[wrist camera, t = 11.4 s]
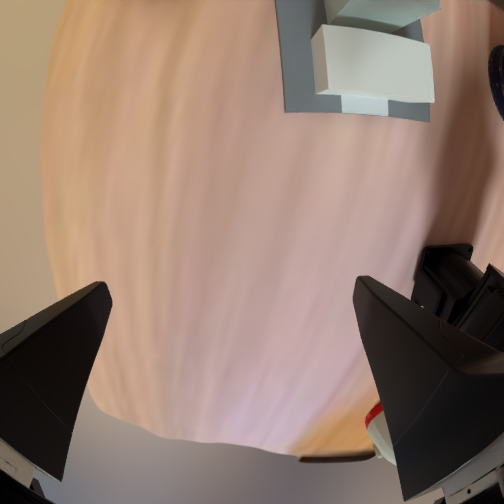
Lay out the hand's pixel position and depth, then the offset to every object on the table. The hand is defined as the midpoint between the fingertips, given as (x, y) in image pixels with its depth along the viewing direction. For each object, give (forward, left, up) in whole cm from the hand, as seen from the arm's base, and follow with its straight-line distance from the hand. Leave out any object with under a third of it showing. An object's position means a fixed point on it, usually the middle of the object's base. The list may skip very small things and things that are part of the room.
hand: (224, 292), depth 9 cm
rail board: (-9, -16, -12) cm, 22 cm away
